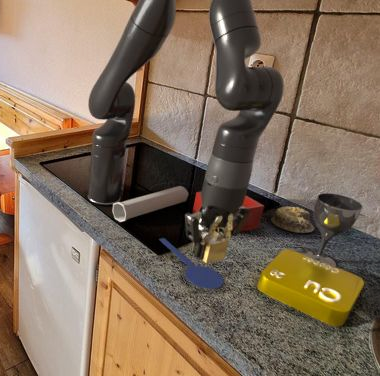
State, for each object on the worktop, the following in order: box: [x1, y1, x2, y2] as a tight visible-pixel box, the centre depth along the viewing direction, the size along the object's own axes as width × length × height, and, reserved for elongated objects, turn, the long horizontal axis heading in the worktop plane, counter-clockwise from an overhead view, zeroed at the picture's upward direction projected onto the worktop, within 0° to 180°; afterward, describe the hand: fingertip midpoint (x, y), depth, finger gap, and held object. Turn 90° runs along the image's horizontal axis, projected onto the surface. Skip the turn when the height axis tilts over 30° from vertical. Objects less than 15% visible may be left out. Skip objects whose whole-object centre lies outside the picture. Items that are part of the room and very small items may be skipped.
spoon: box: [158, 237, 224, 290], centre depth 89 cm, size 19×8×1 cm, turn 20°
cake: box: [270, 206, 315, 234], centre depth 105 cm, size 10×10×5 cm
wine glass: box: [300, 192, 363, 267], centre depth 89 cm, size 8×8×15 cm
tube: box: [112, 185, 189, 223], centre depth 111 cm, size 5×5×25 cm
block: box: [191, 230, 230, 264], centre depth 81 cm, size 4×4×4 cm
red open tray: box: [191, 191, 265, 233], centre depth 106 cm, size 12×12×7 cm
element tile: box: [256, 248, 365, 327], centre depth 80 cm, size 15×15×5 cm
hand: (207, 254), depth 82 cm, fingers closed on block, 4 cm apart
